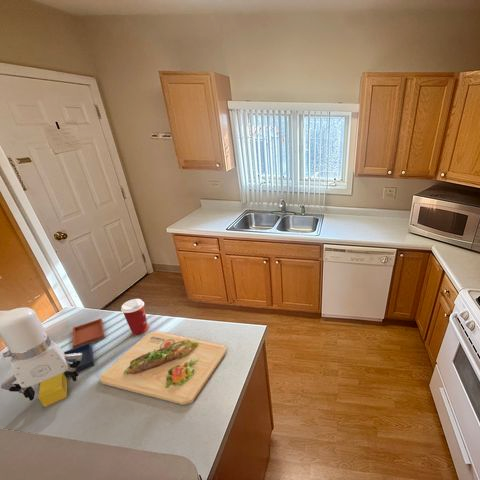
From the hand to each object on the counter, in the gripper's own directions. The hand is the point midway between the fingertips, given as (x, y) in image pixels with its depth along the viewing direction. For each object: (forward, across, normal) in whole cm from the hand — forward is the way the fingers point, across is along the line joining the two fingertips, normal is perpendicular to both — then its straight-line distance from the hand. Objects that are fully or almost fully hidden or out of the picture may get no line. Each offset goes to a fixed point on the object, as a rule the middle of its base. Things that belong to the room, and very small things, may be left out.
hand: (54, 387), depth 80 cm
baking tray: (+2, +3, +11) cm, 12 cm away
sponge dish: (+2, +9, +25) cm, 27 cm away
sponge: (+2, 0, 0) cm, 3 cm away
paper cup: (+3, +25, +15) cm, 29 cm away
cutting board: (+3, +29, -11) cm, 31 cm away
